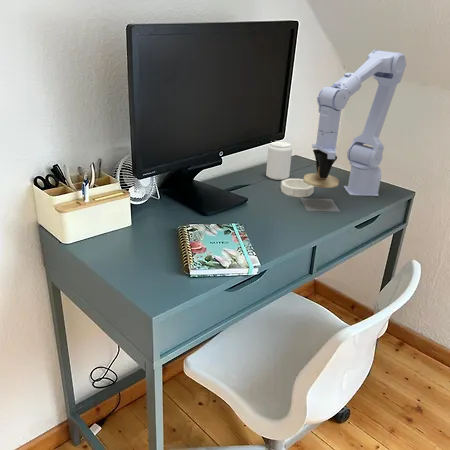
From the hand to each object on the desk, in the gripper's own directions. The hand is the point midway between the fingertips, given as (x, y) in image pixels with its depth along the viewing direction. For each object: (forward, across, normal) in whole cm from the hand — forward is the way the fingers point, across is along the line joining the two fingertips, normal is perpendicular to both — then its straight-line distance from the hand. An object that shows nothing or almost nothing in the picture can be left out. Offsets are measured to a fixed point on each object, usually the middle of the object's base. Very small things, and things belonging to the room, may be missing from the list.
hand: (322, 175), depth 148 cm
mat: (+9, +1, 0) cm, 9 cm away
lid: (+2, 0, 0) cm, 2 cm away
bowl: (+9, -10, -5) cm, 15 cm away
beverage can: (+10, -25, -9) cm, 28 cm away
